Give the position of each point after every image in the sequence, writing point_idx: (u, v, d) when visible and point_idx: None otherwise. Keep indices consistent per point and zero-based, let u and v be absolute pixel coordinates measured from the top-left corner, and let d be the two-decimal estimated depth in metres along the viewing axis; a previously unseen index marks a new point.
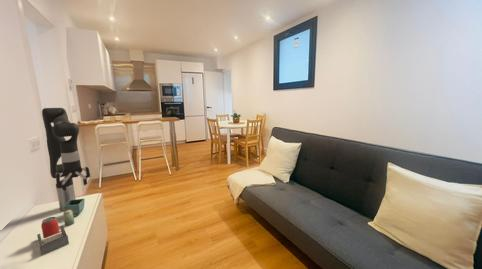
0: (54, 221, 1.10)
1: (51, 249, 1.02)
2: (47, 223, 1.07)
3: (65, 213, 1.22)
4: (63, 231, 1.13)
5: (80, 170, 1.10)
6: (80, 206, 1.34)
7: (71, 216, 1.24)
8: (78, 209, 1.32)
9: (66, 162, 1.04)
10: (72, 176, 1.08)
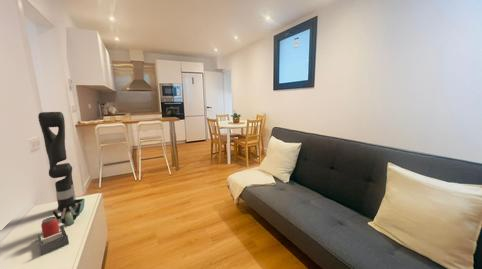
0: (54, 221, 1.10)
1: (51, 249, 1.02)
2: (47, 223, 1.07)
3: (65, 213, 1.22)
4: (63, 231, 1.13)
5: (73, 205, 1.25)
6: (80, 206, 1.34)
7: (71, 216, 1.24)
8: None
9: (60, 199, 1.19)
10: (67, 210, 1.23)
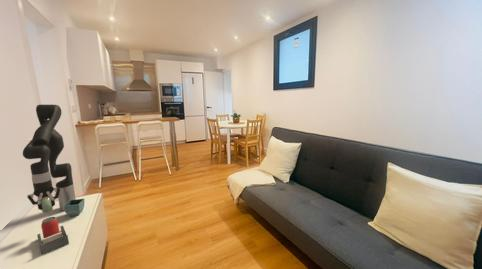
0: (54, 221, 1.10)
1: (51, 249, 1.02)
2: (47, 223, 1.07)
3: (42, 198, 1.13)
4: (63, 231, 1.13)
5: (52, 191, 1.16)
6: (80, 206, 1.34)
7: (49, 202, 1.15)
8: (78, 209, 1.32)
9: (36, 183, 1.09)
10: (44, 195, 1.13)
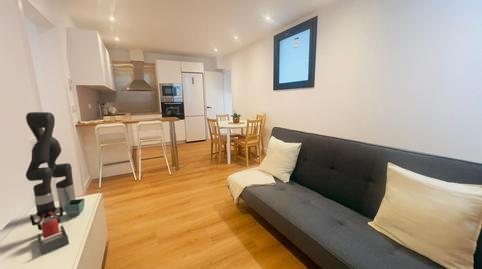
0: (54, 221, 1.10)
1: (51, 249, 1.02)
2: (47, 223, 1.07)
3: None
4: (63, 231, 1.13)
5: (54, 210, 1.17)
6: (80, 206, 1.34)
7: None
8: (78, 209, 1.32)
9: (39, 204, 1.11)
10: (46, 216, 1.15)
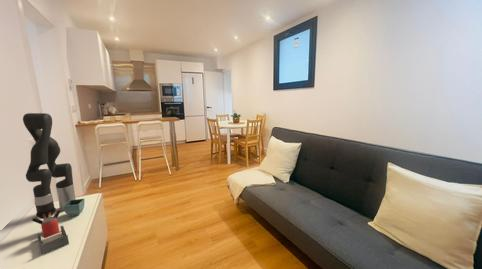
0: (54, 221, 1.10)
1: (51, 249, 1.02)
2: (47, 223, 1.07)
3: None
4: (63, 231, 1.13)
5: (53, 212, 1.19)
6: (80, 206, 1.34)
7: None
8: (78, 209, 1.32)
9: (39, 205, 1.13)
10: None
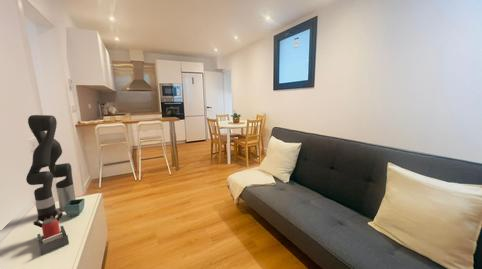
0: (54, 222, 1.09)
1: (51, 249, 1.02)
2: (47, 224, 1.06)
3: None
4: (63, 231, 1.13)
5: (55, 216, 1.16)
6: (80, 206, 1.34)
7: None
8: (78, 209, 1.32)
9: (40, 208, 1.10)
10: None
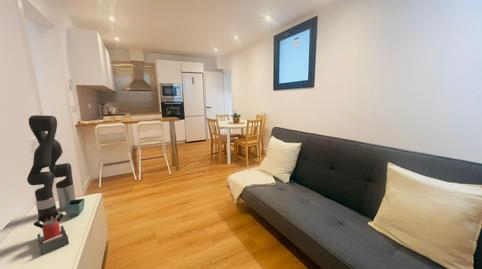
0: (55, 224, 1.07)
1: (51, 249, 1.02)
2: (47, 226, 1.05)
3: None
4: (63, 231, 1.13)
5: (56, 216, 1.16)
6: (80, 206, 1.34)
7: None
8: (78, 209, 1.32)
9: (41, 209, 1.09)
10: (50, 218, 1.14)
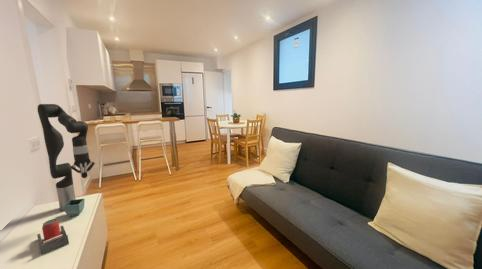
0: (55, 224, 1.07)
1: (51, 249, 1.02)
2: (47, 226, 1.05)
3: None
4: (63, 231, 1.13)
5: (88, 163, 1.30)
6: (80, 206, 1.34)
7: None
8: (78, 209, 1.32)
9: (77, 154, 1.24)
10: (84, 164, 1.28)
